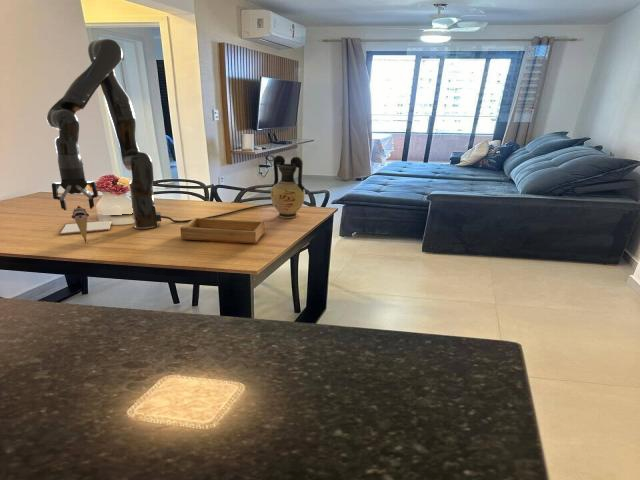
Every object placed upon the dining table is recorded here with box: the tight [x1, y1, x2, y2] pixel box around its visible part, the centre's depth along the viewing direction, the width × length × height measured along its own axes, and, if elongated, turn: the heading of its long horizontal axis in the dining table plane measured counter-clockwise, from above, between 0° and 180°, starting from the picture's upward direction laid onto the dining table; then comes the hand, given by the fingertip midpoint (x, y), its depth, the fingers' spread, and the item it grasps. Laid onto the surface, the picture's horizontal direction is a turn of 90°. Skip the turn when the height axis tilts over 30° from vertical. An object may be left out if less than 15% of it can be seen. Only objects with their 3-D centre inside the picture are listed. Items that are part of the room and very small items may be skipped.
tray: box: [179, 217, 265, 245], centre depth 159 cm, size 31×15×6 cm, turn 85°
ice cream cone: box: [71, 205, 90, 244], centre depth 147 cm, size 6×6×15 cm
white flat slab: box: [59, 220, 112, 236], centre depth 169 cm, size 18×16×1 cm
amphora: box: [270, 154, 306, 219], centre depth 189 cm, size 18×17×30 cm
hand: (78, 209), depth 145 cm, fingers open, 8 cm apart
